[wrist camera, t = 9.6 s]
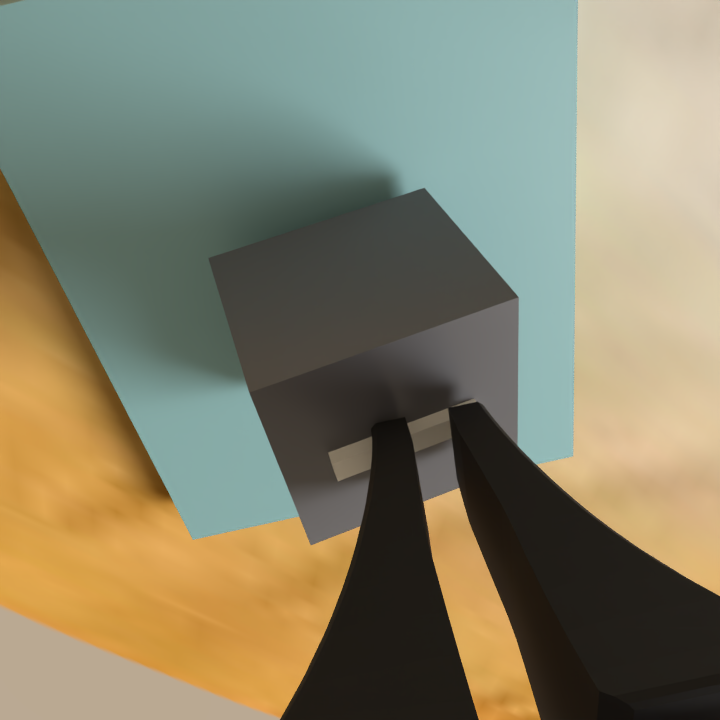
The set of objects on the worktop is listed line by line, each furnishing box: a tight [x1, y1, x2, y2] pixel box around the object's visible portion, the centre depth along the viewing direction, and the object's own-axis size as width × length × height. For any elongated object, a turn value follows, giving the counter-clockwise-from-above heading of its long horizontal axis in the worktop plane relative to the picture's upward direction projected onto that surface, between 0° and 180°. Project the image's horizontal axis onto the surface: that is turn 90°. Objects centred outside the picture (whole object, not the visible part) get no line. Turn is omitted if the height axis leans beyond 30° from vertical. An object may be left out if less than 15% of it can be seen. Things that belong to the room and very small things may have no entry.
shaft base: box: [0, 0, 578, 540], centre depth 17 cm, size 13×16×4 cm
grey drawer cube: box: [208, 188, 519, 545], centre depth 15 cm, size 5×5×5 cm
